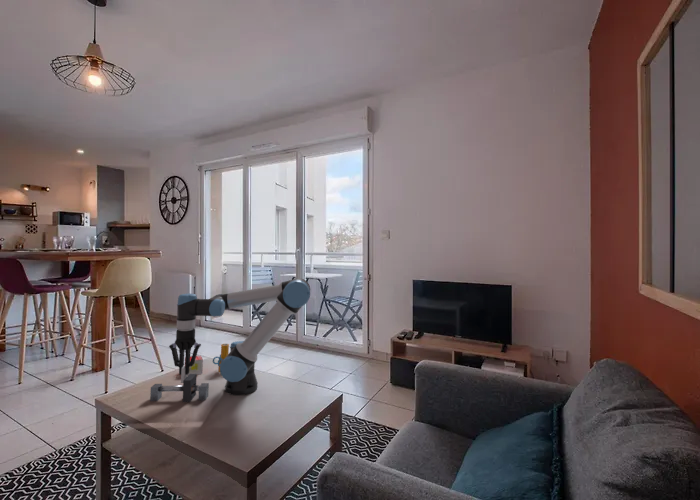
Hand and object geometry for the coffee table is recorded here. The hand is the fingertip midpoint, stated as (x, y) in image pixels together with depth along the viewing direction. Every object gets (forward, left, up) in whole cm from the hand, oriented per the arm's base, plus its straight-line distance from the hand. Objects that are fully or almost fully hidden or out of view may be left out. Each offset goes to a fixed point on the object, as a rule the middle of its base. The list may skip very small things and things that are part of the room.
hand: (183, 381), depth 146 cm
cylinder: (-9, -36, -9) cm, 38 cm away
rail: (+1, 0, -9) cm, 9 cm away
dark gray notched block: (-3, 0, -8) cm, 8 cm away
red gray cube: (+7, -35, -9) cm, 37 cm away
